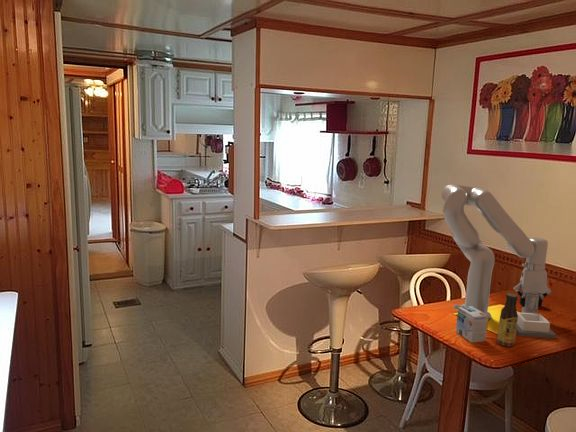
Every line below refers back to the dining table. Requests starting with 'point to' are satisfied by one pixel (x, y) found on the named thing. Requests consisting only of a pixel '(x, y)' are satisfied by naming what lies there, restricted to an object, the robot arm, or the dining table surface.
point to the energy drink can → (531, 302)
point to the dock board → (533, 326)
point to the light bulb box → (471, 324)
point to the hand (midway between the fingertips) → (530, 305)
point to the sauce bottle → (508, 321)
